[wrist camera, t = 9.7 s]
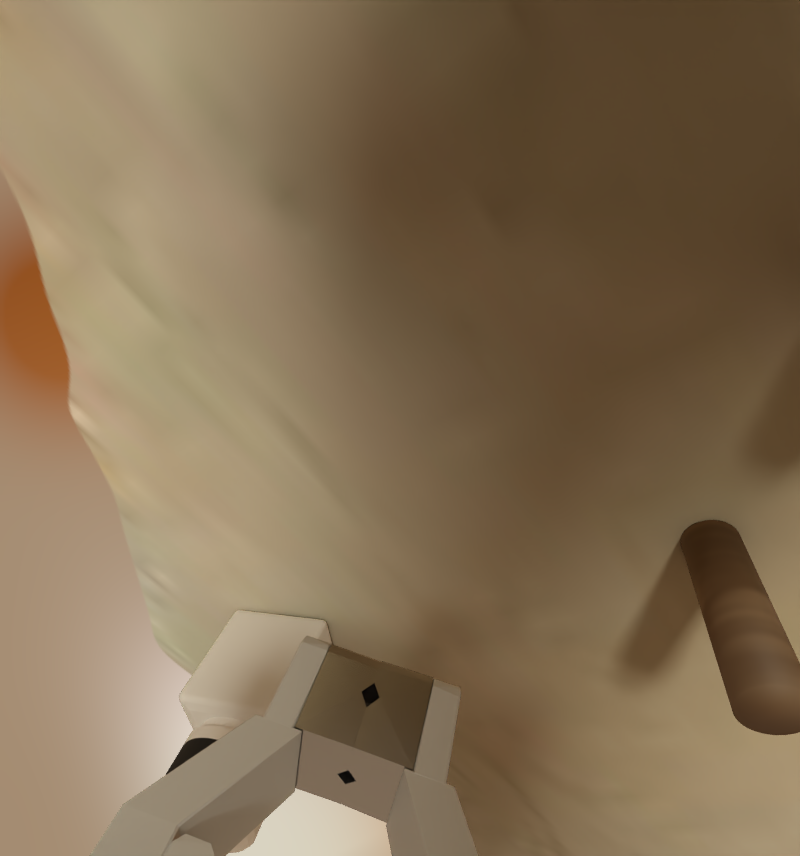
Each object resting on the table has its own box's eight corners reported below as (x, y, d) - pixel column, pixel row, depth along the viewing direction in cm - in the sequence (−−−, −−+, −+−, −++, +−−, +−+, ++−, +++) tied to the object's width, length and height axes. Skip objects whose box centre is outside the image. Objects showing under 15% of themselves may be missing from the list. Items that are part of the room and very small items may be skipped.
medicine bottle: (259, 674, 41) (162, 851, 31) (235, 607, 38) (117, 780, 28) (345, 687, 39) (271, 882, 29) (327, 617, 36) (238, 809, 26)
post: (694, 513, 25) (755, 675, 18) (750, 529, 25) (837, 701, 17) (671, 552, 27) (718, 719, 19) (725, 568, 26) (794, 743, 19)
